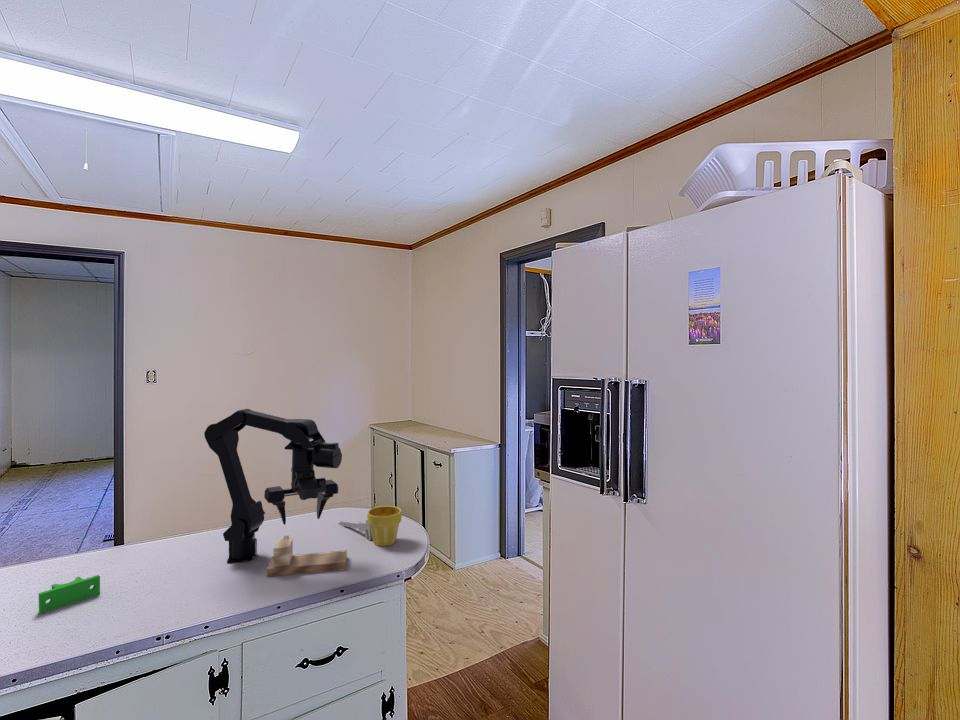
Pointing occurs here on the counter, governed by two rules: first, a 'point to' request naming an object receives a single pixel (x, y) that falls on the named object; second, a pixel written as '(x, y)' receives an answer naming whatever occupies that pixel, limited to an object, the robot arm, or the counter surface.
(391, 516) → the plant pot
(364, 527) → the caliper
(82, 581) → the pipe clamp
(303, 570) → the walnut board
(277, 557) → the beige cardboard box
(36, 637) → the counter surface
